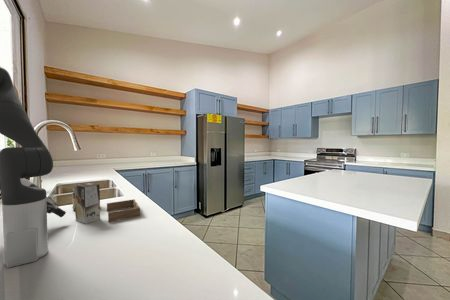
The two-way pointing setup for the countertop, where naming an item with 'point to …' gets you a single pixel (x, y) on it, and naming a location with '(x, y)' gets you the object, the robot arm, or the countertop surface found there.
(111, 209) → the walnut pen
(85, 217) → the coffee box
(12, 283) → the countertop surface
